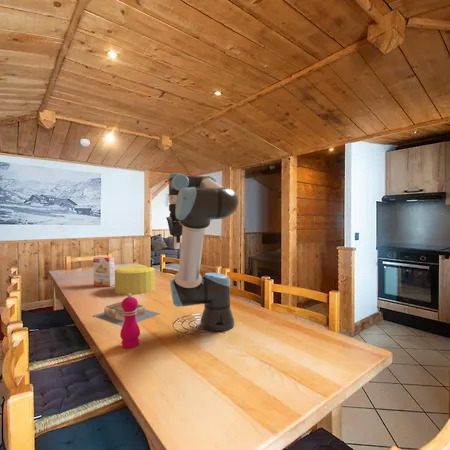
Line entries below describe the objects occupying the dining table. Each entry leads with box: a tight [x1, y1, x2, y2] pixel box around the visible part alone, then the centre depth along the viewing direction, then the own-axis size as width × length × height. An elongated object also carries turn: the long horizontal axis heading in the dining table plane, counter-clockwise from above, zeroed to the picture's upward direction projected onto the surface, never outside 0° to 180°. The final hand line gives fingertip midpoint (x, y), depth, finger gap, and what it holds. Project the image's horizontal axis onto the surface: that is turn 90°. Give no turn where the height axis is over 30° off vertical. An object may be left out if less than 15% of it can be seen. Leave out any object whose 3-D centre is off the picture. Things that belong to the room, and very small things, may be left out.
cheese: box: [114, 264, 156, 296], centre depth 196 cm, size 26×26×15 cm
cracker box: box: [92, 255, 116, 288], centre depth 208 cm, size 14×6×21 cm, turn 73°
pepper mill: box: [119, 293, 141, 349], centre depth 110 cm, size 7×7×20 cm
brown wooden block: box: [104, 301, 146, 321], centre depth 144 cm, size 4×12×16 cm
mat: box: [92, 309, 161, 327], centre depth 144 cm, size 26×21×1 cm
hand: (176, 248), depth 151 cm, fingers closed
